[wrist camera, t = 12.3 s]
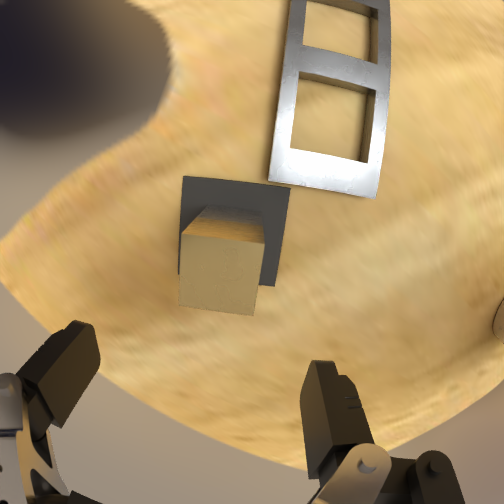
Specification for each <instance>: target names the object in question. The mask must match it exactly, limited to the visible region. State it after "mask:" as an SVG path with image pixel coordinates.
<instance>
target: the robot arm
mask: <svg viewBox="0 0 504 504" xmlns="http://www.w3.org/2000/svg"><path fill="white" fill-rule="evenodd" d="M493 332H494V334H495V335H496V336H497V337H498V338H499V339H500V341H501V342H502V343H503V344H504V300H503V302H502V303H501V305H500V307H499V309H498V311H497V314H496V316H495V319H494V324H493ZM99 366H100V352H99V348H98V344H97V340H96V335H95V330H94V327H93V326H92V325H91V324H88V323H84V322H81V321H77V320H74V321H72V322H71V323H70V324H69V325H68V326H67V327H66V328H65V329H64V330H63V329H62V330H60V331H58V332H56V333H54V334H52V335H51V336H50V337H49V338H48V339H47V340H46V341H45V342H44V345H42V346H41V347H40V348H39V349H38V351H36V352H35V353H34V354H33V355H32V356H31V358H30V359H29V360H28V361H27V362H26V363H25V364H24V365H23V366H22V367H21V369H20V370H19V371H18V372H17V373H16V374H13V373H3V374H0V504H102V503H99V502H97V501H95V500H92V499H90V498H88V497H85V496H83V495H81V494H79V493H77V492H74V491H73V490H72V491H71V494H69V492H68V489H67V487H66V485H65V483H64V482H63V480H62V479H61V477H60V474H59V472H58V468H57V464H56V460H55V455H54V451H53V446H52V441H51V435H50V431H49V429H48V427H49V426H50V424H53V425H55V426H57V427H59V428H62V427H63V425H64V423H65V422H66V420H67V418H68V417H69V415H70V413H71V412H72V410H73V409H74V407H75V405H76V404H77V402H78V400H79V399H80V397H81V396H82V394H83V392H84V390H85V389H86V388H87V386H88V385H89V383H90V381H91V380H92V378H93V377H94V375H95V374H96V372H97V371H98V369H99ZM300 409H301V417H302V425H303V433H304V442H305V450H306V459H307V468H308V477H309V479H319V482H320V488H319V489H318V490H317V492H316V493H315V494H314V495H313V496H312V498H311V499H310V500H309V501H308V503H307V504H465V501H464V498H463V495H462V492H461V489H460V486H459V483H458V480H457V477H456V474H455V472H454V469H453V466H452V463H451V461H450V459H449V458H448V457H447V456H446V455H445V454H443V453H442V452H439V451H433V450H431V451H427V452H425V453H423V454H422V455H421V456H419V457H418V458H417V459H416V460H415V459H403V458H394V457H391V456H389V454H388V453H387V451H385V450H384V449H383V448H382V447H380V446H378V445H375V443H374V440H373V437H372V434H371V431H370V428H369V425H368V422H367V419H366V416H365V413H364V410H363V408H362V404H361V401H360V399H359V395H358V392H357V390H356V387H355V385H354V384H353V382H352V381H351V380H350V379H349V378H348V377H347V376H346V375H338V372H337V369H336V366H335V363H334V361H321V360H312V361H311V363H310V365H309V369H308V372H307V375H306V378H305V381H304V383H303V386H302V389H301V394H300Z"/></svg>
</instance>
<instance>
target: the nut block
mask: <svg viewBox="0 0 504 504" xmlns="http://www.w3.org/2000/svg"><path fill="white" fill-rule="evenodd" d="M264 247H265V240H264V231H263V221H262V212H261V211H255V210H247V209H240V208H232V207H224V206H216V205H207V207H206V208H205V209H204V210H203V211H202V212H201V213H200V214H199V215H198V216H197V217H196V218H195V219H194V220H193V221H192V222H191V224H190V225H189V226H188V227H187V228H186V229H185V230H184V231H183V232H182V234H181V252H180V276H179V306H185V307H191V308H198V309H204V310H211V311H218V312H225V313H233V314H241V315H249V316H253V315H254V309H255V303H256V297H257V290H258V284H259V278H260V272H261V266H262V259H263V253H264Z"/></svg>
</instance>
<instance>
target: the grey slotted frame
mask: <svg viewBox="0 0 504 504" xmlns="http://www.w3.org/2000/svg"><path fill="white" fill-rule="evenodd" d="M308 1H313V2H318V3H322V4H327V5H331V6H335V7H339V8H342V9H346V10H349V11H353V12H356V13H359V14H362V15H366V16H369V17H371V30H370V62H368V61H365V60H361V59H358V58H355V57H351V56H348V55H344V54H340V53H336V52H332V51H328V50H324V49H319V48H315V47H310V46H305V45H302V42H303V33H304V23H305V13H306V3H307V0H290V8H289V16H288V24H287V32H286V40H285V48H284V56H283V63H282V71H281V79H280V87H279V94H278V102H277V109H276V117H275V125H274V132H273V140H272V147H271V155H270V162H269V170H268V177H267V179H268V181H274V182H281V183H288V184H294V185H301V186H307V187H313V188H319V189H325V190H330V191H336V192H341V193H347V194H352V195H357V196H362V197H367V198H371V199H376V193H377V188H378V182H379V176H380V170H381V164H382V157H383V150H384V142H385V134H386V125H387V115H388V104H389V90H390V71H391V18H390V0H308ZM298 78H301V79H306V80H312V81H316V82H321V83H326V84H330V85H334V86H338V87H342V88H346V89H350V90H354V91H357V92H361V93H364V94H367V104H366V114H365V123H364V131H363V139H362V147H361V154H360V161H359V162H358V161H353V160H349V159H344V158H340V157H335V156H330V155H325V154H320V153H315V152H309V151H303V150H297V149H291V148H289V147H290V140H291V132H292V125H293V117H294V109H295V101H296V93H297V85H298Z"/></svg>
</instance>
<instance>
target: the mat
mask: <svg viewBox="0 0 504 504" xmlns="http://www.w3.org/2000/svg"><path fill="white" fill-rule="evenodd" d="M290 189H291V188H287V187H280V186H273V185H266V184H258V183H250V182H242V181H233V180H224V179H214V178H203V177H192V176H183V187H182V200H181V214H180V232H179V256H178V275H180V252H181V234H182V232H183V231H184V230H185V229H186V228H187V227H188V226H189V225H190V224H191V222H192V221H193V220H194V219H195V218H196V217H197V216H198V215H199V214H200V213H201V212H202V211H203V210H204V209H205V208H206V207H207V205H216V206H224V207H232V208H240V209H247V210H255V211H261V212H262V221H263V231H264V240H265V247H264V253H263V259H262V266H261V272H260V278H259V284H258V285H265V286H274V287H275V281H276V275H277V270H278V264H279V258H280V252H281V246H282V240H283V234H284V228H285V221H286V215H287V209H288V202H289V195H290Z"/></svg>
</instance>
